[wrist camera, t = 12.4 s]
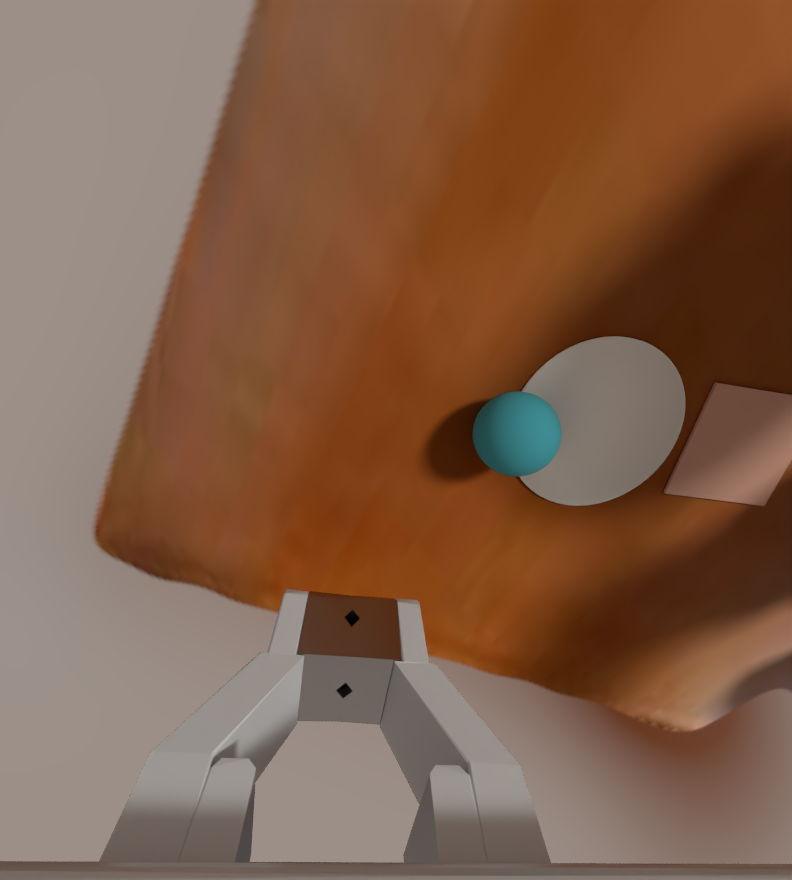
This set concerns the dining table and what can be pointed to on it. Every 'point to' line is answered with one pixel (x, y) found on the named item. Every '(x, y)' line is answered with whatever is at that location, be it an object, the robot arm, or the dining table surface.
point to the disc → (607, 418)
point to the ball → (517, 433)
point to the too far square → (736, 447)
